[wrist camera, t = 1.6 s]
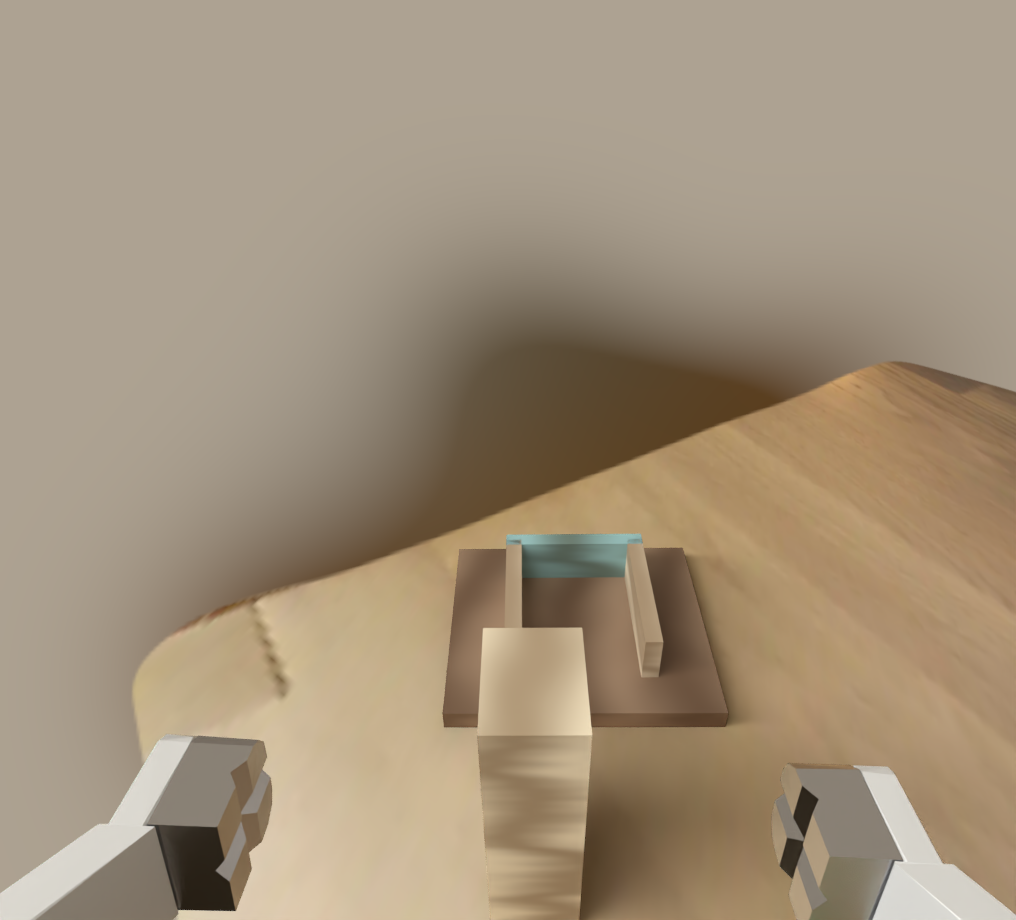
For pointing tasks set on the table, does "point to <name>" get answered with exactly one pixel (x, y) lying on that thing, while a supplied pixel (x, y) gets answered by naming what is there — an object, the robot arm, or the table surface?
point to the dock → (591, 625)
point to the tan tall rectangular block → (534, 770)
